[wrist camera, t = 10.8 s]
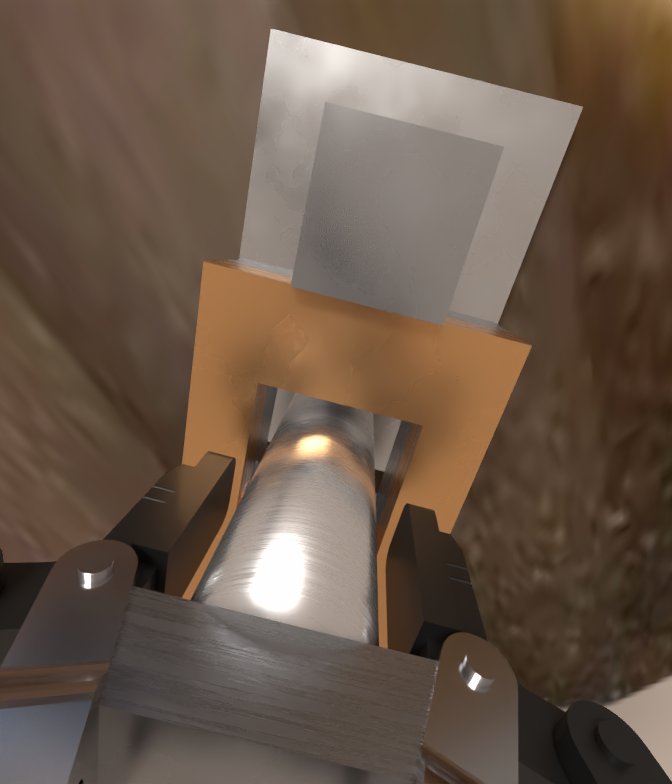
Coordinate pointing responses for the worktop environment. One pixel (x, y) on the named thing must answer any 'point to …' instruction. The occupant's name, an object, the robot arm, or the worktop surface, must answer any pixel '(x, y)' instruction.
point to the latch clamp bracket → (375, 271)
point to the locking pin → (274, 637)
